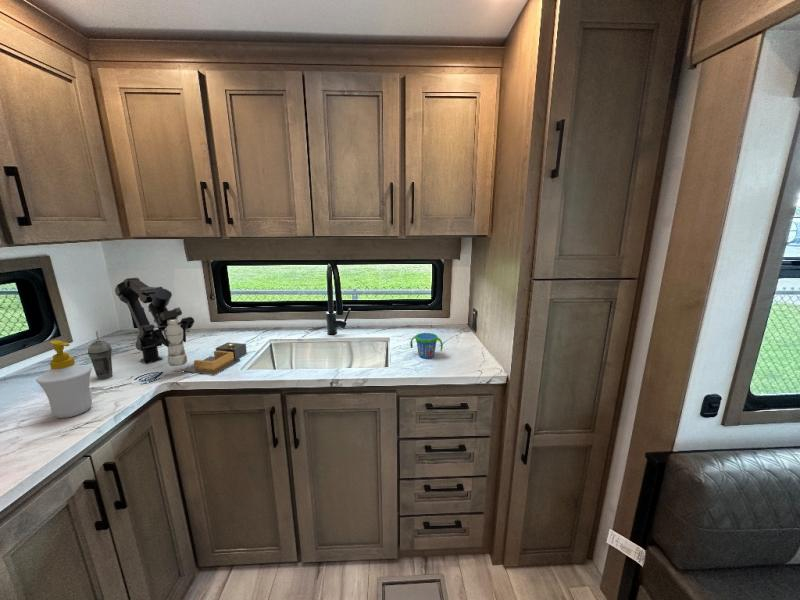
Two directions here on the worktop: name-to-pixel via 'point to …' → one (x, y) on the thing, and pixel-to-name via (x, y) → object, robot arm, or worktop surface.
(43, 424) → the worktop surface
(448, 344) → the worktop surface
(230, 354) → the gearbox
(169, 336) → the plastic bottle
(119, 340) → the worktop surface
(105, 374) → the beverage cup
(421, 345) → the snack cup
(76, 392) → the soap bottle
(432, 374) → the worktop surface
